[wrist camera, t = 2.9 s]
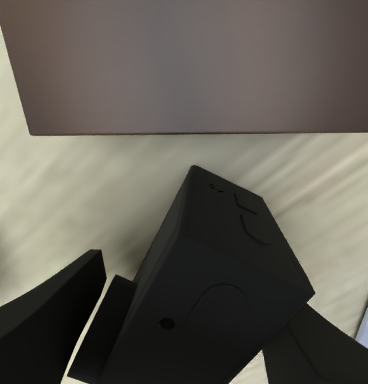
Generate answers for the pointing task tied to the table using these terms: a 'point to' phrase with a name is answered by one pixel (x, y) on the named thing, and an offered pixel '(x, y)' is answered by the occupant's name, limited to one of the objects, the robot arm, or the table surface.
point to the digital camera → (197, 293)
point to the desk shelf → (189, 66)
